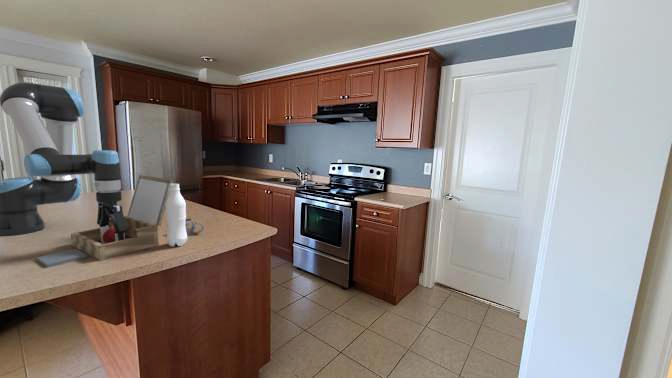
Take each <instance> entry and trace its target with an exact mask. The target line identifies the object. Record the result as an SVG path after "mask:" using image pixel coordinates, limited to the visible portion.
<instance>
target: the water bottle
mask: <svg viewBox="0 0 672 378" xmlns="http://www.w3.org/2000/svg"><path fill="white" fill-rule="evenodd" d="M170 186H171V188H170V190H171V191H170V195H169V197H168V199H167V201H166V203H165V206H166V210H165V219H166V223H167V233H166V235H167V236H166V241H167V243H168V245H169V246H170V247H175V246H176V245H177V246H178V247H181V246H183V245H186V244H187V241H188V235H187V233H186V227H185V221H186V219H187V207H186V206H187V203H186V201H185V199H184V196H182V194H181V191H180V190H181V188H180V183H173V184H170Z"/></svg>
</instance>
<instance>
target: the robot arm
mask: <svg viewBox="0 0 672 378" xmlns="http://www.w3.org/2000/svg"><path fill="white" fill-rule="evenodd" d="M0 107H1V109H2V111H3V113H5V115H7V116H9V117H10V119H11V120H12V123H13V125H14V127H15V129H16V131H17V134H18V136H19V137H20V139H21V141H22V144H23V145H24V147H25V150H26V151H27V154H26V155H25V156H24V158H23V165H24V166H23V167H24V169H25V172H26V174H27V175H28V176H20V177H19V176H18V177H11V178H4V179H0V236H16V235H23V234H29V233H36V232H38V231H41V230H43V229H45V228H46V225H45V224H46V223H45V220H43V218H42V216H41V215H40V213H39V210H38V206H42V205H52V204H60V203H61V204H62V203H63V204H65V203H69V202H74V201H76V200H77V199H79V198H80V196H81V193H82V182H81V180H80V179H79V177H77V176H78V175H93V177H94V183H93V186H94V187H95V191H96V192H95V199H96V202H97V204H98V206H97V207H98V208H97V209H98V210H97V219H96V225H98V227H99V228H100V232H101V240H100V241H101V244H106V243H105V242H104V241H103V234H104V233H105V232H106V231H107V230H108V229H109V226H108V225H109V223H108V222H109V219H111V220H112V223H113V225H114V228H115V232H114V234H115V242H116V241H120V240H124V239H126V238H125V235H124V232H125V231H127V227H126V223H125V219H124V217H125V215H124V213H123V205H118V202H120V201H122V199H123V198H122V191H121V190H122V181H121V172H120V158H119V153H118V152H117V150H109V149H108V150H106V149H105V150H101V149H99V150H97V149H96V150H93V151H92V153H87V154H73V138H74V137H73V134H74V130H73V129H74V124H76V123H77V122H78V119H79V118H81V117H83V116H84V114H85V105H84V102H83V99H82V96H81V95H80V94H79V93H78V91H76V90H74V89H70V88H66V87H60V86H53V85H46V84H39V83H34V82H27V81H26V82H25V81H24V82H23V81H22V82H17V83H14V84H13V83H12V84H11V85H9V86H8V87H6V88H5V89H3V91H2V92H1V94H0ZM42 119H43V120H44V121H45V124H44V122H43V120H42ZM76 175H77V176H76ZM34 177H40V178H39V179H35V178H34Z"/></svg>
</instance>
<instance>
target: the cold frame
mask: <svg viewBox="0 0 672 378" xmlns="http://www.w3.org/2000/svg"><path fill="white" fill-rule="evenodd" d="M124 219H125V223H126V227H127V231H125V232H124V236H127V237H130V238H125V239H124V240H120V241H116V242H111V243H107V244H106V243H100V242H99V241H101V232H100V227H97V228H90V229H87V230H80V231H75V232H71V233H70V238H71V239H70V240H71V246H72V247H74V248H75V249H77V250H79V251H81V252H83V253H85V254H86V255H89V256H91V257H93V258H95V259H97V260H99V261H103V260H106V259H107V260H108V259H110V258H115V257H119V256H122V255H125V254H129V253H134V252H137V251H141V250H144V249H148V248H152V247H156V246H159V229H158V228H159V226H157V225H154V224H151V223H147V222H144V221H141V220H138V219H135V218H131V217H128V215H127V216H126V215H124ZM108 223H109V225H108V226H109V228H110V227H111V226H114V225H113V223H112V220H111V218H110V219H109V222H108Z"/></svg>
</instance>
